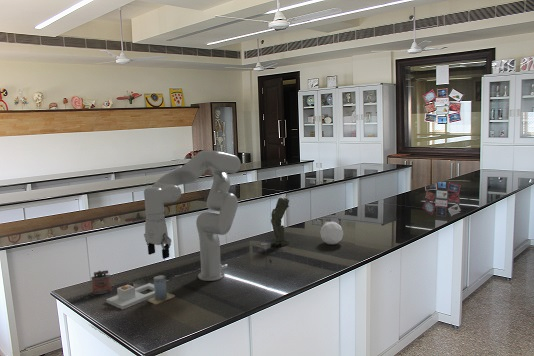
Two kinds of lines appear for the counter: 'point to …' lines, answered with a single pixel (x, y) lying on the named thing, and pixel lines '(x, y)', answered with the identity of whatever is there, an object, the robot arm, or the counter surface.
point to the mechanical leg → (279, 222)
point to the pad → (160, 300)
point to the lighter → (101, 282)
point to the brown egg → (125, 287)
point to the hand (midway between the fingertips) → (158, 255)
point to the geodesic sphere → (331, 232)
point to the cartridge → (160, 287)
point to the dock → (131, 296)
